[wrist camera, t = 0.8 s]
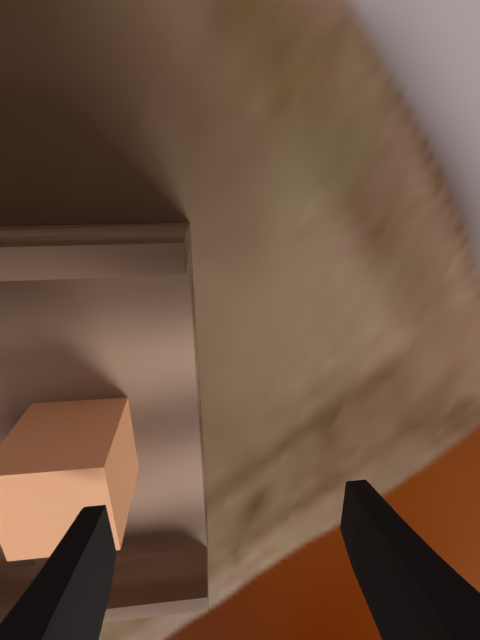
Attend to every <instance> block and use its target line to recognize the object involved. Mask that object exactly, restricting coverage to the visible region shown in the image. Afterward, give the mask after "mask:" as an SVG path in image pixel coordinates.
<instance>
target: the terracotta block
mask: <svg viewBox="0 0 480 640" xmlns="http://www.w3.org/2000/svg"><path fill="white" fill-rule="evenodd" d="M138 469H139V467H138V460H137V454H136V447H135V441H134V434H133V428H132V421H131V414H130V408H129V401H128V397H126V398H110V399H95V400H79V401H63V402H47V403H32V404H31V405H30V406H29V408H28V409H27V410H26V412H25V413H24V414H23V415H22V417H21V418H20V419H19V421H18V422H17V423H16V425H15V426H14V427H13V428H12V430H11V431H10V432H9V434H8V435H7V436H6V438H5V439H4V440H3V442H2V443H1V444H0V544H1V547H2V550H3V552H4V555H5V557H6V560H7V561H17V560H27V559H37V558H47V557H50V555H51V554H52V552H53V551H54V550H55V548H56V547H57V545H58V544H59V542H60V541H61V539H62V538H63V536H64V535H65V533H66V532H67V530H68V529H69V527H70V526H71V524H72V523H73V521H74V520H75V518H76V517H77V515H78V514H79V512H80V511H81V510H82V509H83V508H84V507H88V506H99V505H106V508H107V512H108V517H109V521H110V526H111V530H112V535H113V539H114V543H115V548H116V550H121V545H122V541H123V536H124V532H125V527H126V523H127V518H128V514H129V509H130V505H131V500H132V496H133V491H134V487H135V482H136V478H137V473H138Z"/></svg>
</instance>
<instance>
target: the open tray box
mask: <svg viewBox="0 0 480 640" xmlns="http://www.w3.org/2000/svg"><path fill="white" fill-rule="evenodd" d="M126 397H128V401H129V408H130V414H131V421H132V428H133V434H134V441H135V447H136V454H137V460H138V467H139V469H138V473H137V478H136V482H135V487H134V491H133V496H132V500H131V505H130V509H129V514H128V518H127V523H126V527H125V532H124V536H123V541H122V545H121V550H116V552H117V553H116V560H115V566H114V573H113V579H112V585H111V591H110V596H109V600H108V604H107V608H106V612H105V616H104V620H103V623H104V622H113V621H121V620H130V619H138V618H146V617H155V616H163V615H171V614H180V613H188V612H197V611H205V610H209V608H208V537H207V502H206V485H205V469H204V452H203V435H202V419H201V402H200V386H199V369H198V353H197V336H196V320H195V303H194V287H193V270H192V254H191V237H190V223H139V224H88V225H37V226H0V444H1V443H2V442H3V440H4V439H5V438H6V436H7V435H8V434H9V432H10V431H11V430H12V428H13V427H14V426H15V425H16V423H17V422H18V421H19V419H20V418H21V417H22V415H23V414H24V413H25V412H26V410H27V409H28V408H29V406H30V405H31V404H32V403H47V402H63V401H79V400H95V399H110V398H126ZM48 558H49V557H47V558H37V559H27V560H17V561H7V560H6V557H5V555H4V552H3V550H2V547H1V544H0V623H1V621H2V620H3V619H4V618H5V616H6V615H7V614H8V612H9V611H10V610H11V609H12V607H13V606H14V605H15V603H16V602H17V601H18V599H19V598H20V597H21V596H22V594H23V593H24V592H25V590H26V589H27V587H28V586H29V585H30V583H31V582H32V580H33V579H34V578H35V576H36V575H37V574H38V572H39V571H40V569H41V568H42V567H43V565H44V564H45V562H46V561H47V560H48Z"/></svg>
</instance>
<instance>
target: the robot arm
mask: <svg viewBox="0 0 480 640" xmlns="http://www.w3.org/2000/svg"><path fill="white" fill-rule="evenodd" d="M340 529H341V532H342V536H343V539H344V542H345V546H346V549H347V552H348V555H349V559H350V562H351V565H352V568H353V570H354V573H355V575H356V578H357V580H358V582H359V585H360V587H361V590H362V592H363V594H364V597H365V599H366V602H367V604H368V606H369V609H370V611H371V614H372V616H373V619H374V621H375V623H376V626H377V628H378V630H379V633H380V635H381V638H382V639H383V640H480V593H479V592H478V591H477V590H476V589H475V588H474V587H472V586H471V585H470V584H469V583H468V582H467V581H466V580H465V579H464V578H462V577H461V576H460V575H459V574H458V573H457V572H456V571H455V570H454V569H453V568H452V567H451V566H450V565H448V564H447V563H446V562H445V561H444V560H443V559H442V558H441V557H440V556H439V555H438V554H437V553H436V552H435V551H434V550H432V548H431V547H430V546H429V545H428V544H427V543H426V542H425V541H423V539H422V538H421V537H420V536H419V535H418V534H417V533H416V532H415V531H413V529H412V528H411V527H410V526H409V525H408V524H407V523H406V522H405V521H404V520H403V519H402V518H401V517H400V516H399V515H398V514H397V513H396V512H395V511H394V509H393V508H392V507H391V506H390V505H389V504H388V503H387V502H386V501H385V500H384V499H383V498H382V497H381V495H380V494H379V493H378V492H377V491H376V490H375V489H374V488H373V487H372V486H371V485H370V484H369V483H368V482H367V481H366V480H357V481H347V482H346V487H345V495H344V503H343V511H342V519H341V527H340ZM116 553H117V552H116V548H115V543H114V539H113V535H112V530H111V526H110V521H109V517H108V512H107V508H106V505H99V506H88V507H84V508H83V509H82V510H81V511H80V512H79V514H78V515H77V517H76V518H75V520H74V521H73V523H72V524H71V526H70V527H69V529H68V530H67V532H66V533H65V535H64V536H63V538H62V539H61V541H60V542H59V544H58V545H57V547H56V548H55V550H54V551H53V552H52V554H51V555H50V557H49V558H48V560H47V561H46V562H45V564H44V565H43V567H42V568H41V569H40V571H39V572H38V574H37V575H36V576H35V578H34V579H33V580H32V582H31V583H30V585H29V586H28V587H27V589H26V590H25V592H24V593H23V594H22V596H21V597H20V598H19V599H18V601H17V602H16V603H15V605H14V606H13V607H12V609H11V610H10V611H9V612H8V614H7V615H6V616H5V618H4V619H3V620H2V621H1V623H0V640H98V639H99V635H100V631H101V627H102V624H103V620H104V616H105V612H106V608H107V604H108V600H109V596H110V591H111V585H112V579H113V573H114V566H115V560H116Z"/></svg>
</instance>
